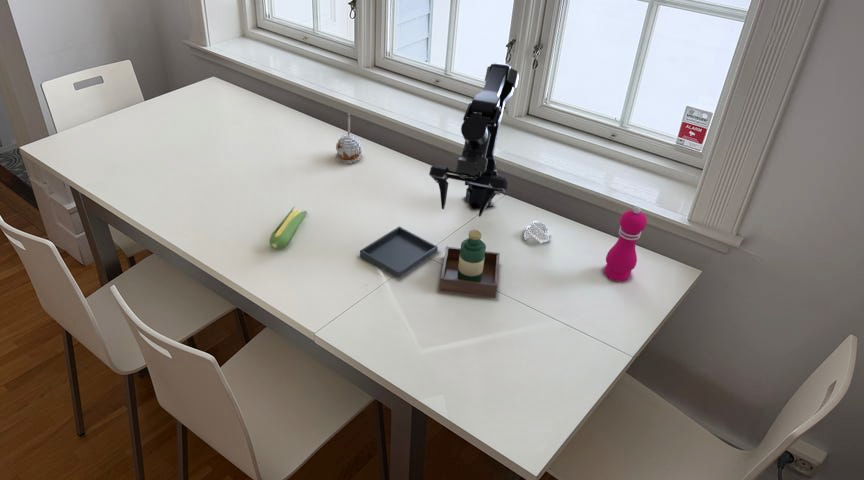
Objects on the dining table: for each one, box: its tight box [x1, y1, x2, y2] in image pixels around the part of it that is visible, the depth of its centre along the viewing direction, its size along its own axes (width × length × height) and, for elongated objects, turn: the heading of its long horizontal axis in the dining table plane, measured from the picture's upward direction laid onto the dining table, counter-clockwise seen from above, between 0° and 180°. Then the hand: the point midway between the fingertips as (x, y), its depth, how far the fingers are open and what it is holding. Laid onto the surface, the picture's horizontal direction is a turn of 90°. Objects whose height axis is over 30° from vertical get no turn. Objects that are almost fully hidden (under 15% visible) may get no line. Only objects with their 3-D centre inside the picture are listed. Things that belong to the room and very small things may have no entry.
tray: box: [359, 226, 439, 279], centre depth 170 cm, size 15×13×2 cm
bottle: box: [457, 229, 487, 282], centre depth 159 cm, size 6×6×13 cm
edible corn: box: [269, 206, 308, 250], centre depth 176 cm, size 5×20×5 cm, turn 164°
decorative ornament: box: [335, 113, 363, 164], centre depth 205 cm, size 8×8×15 cm
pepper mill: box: [603, 205, 648, 282], centre depth 161 cm, size 7×7×20 cm
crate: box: [438, 245, 501, 299], centre depth 162 cm, size 13×13×4 cm
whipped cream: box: [523, 220, 551, 244], centre depth 177 cm, size 8×7×5 cm
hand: (460, 212), depth 162 cm, fingers open, 9 cm apart
